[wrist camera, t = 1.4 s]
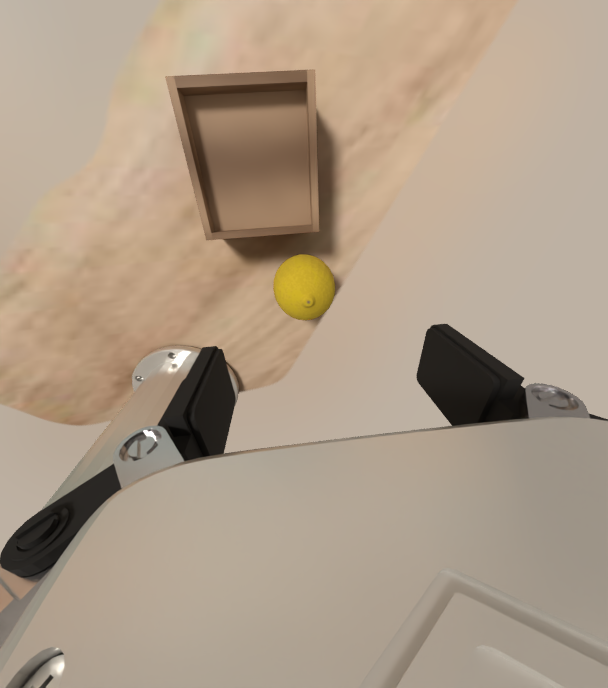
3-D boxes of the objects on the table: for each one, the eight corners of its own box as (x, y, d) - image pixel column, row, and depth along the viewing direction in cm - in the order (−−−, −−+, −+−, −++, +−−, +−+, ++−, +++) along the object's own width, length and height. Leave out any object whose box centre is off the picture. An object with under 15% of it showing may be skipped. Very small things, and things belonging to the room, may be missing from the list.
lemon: (337, 272, 25) (358, 298, 18) (302, 310, 27) (310, 346, 20) (298, 235, 23) (305, 247, 16) (263, 279, 25) (256, 307, 18)
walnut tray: (313, 227, 23) (319, 231, 19) (218, 234, 22) (206, 240, 19) (308, 97, 18) (314, 69, 14) (188, 103, 18) (165, 76, 14)
